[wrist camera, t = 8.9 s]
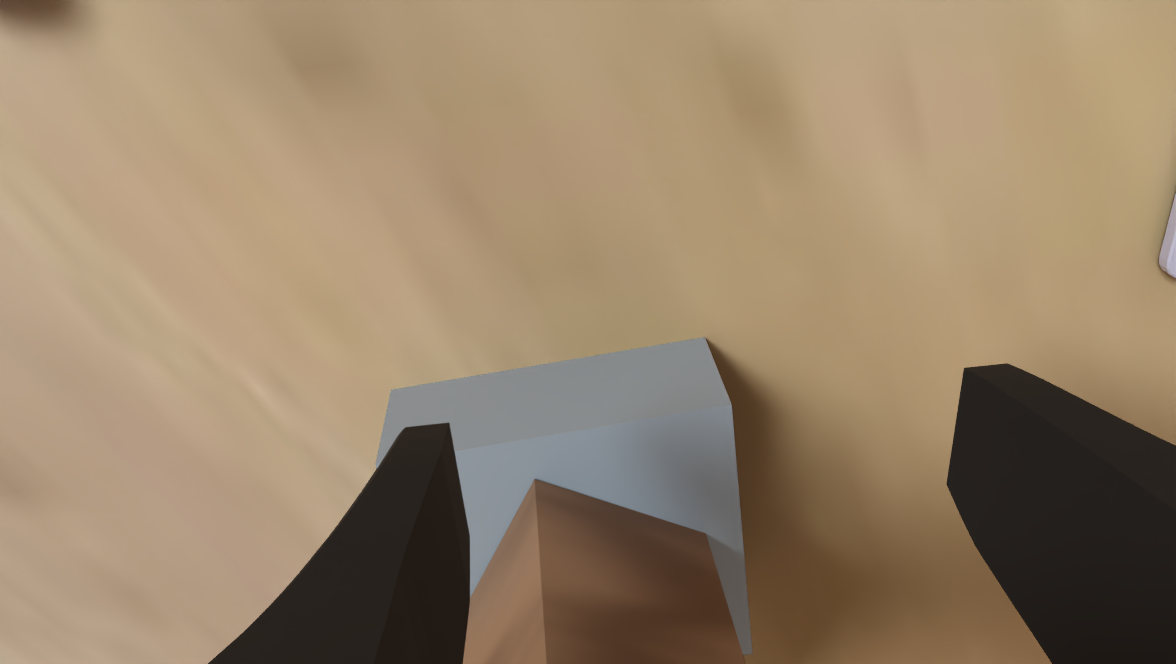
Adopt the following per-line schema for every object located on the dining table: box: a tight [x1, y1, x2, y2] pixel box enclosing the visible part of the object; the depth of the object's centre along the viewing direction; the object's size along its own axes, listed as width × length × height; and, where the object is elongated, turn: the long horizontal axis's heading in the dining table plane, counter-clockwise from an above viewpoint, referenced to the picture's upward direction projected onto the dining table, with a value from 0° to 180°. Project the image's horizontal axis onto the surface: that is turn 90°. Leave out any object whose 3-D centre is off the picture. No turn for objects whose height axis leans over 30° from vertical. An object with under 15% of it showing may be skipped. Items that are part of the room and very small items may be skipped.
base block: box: [376, 337, 753, 655], centre depth 23 cm, size 8×8×4 cm
